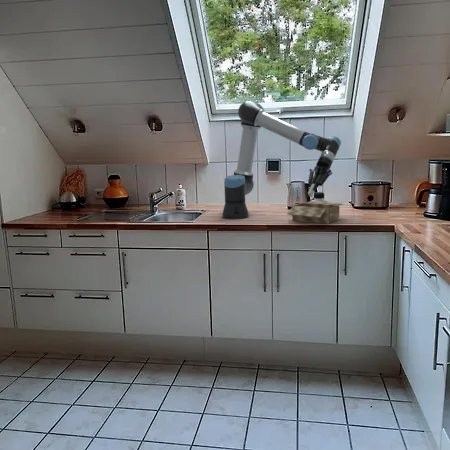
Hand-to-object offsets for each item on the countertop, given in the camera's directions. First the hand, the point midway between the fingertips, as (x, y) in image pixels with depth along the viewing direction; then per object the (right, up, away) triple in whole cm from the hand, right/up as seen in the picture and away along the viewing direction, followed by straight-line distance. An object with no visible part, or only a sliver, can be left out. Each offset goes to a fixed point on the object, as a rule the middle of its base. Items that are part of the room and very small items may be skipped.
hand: (309, 195), depth 232 cm
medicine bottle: (+11, -9, +31) cm, 34 cm away
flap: (0, -6, +1) cm, 6 cm away
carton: (+6, -13, +10) cm, 17 cm away
